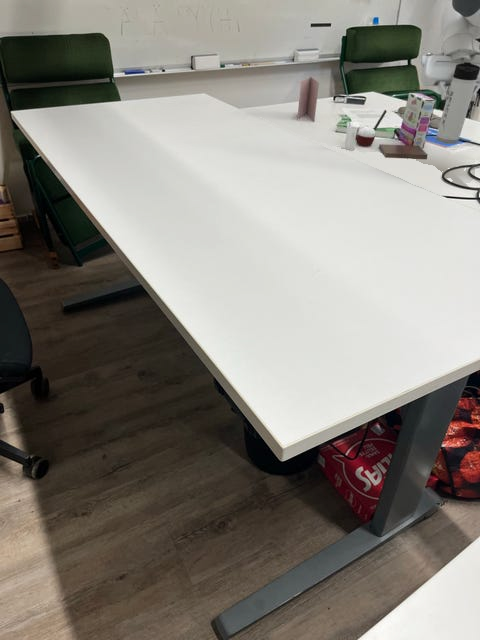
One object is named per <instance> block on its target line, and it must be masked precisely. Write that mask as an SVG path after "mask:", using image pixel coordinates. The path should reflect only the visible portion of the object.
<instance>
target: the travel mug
mask: <svg viewBox="0 0 480 640" xmlns="http://www.w3.org/2000/svg"><path fill="white" fill-rule="evenodd" d="M479 71H480V67H479V66H477V65H474V64H471V63H469V62H464V63H461V64H457V65H456V68H455V72H454V75H453V78H452V82H451V85H450V87H449V89H448V91H449V98H448V99H447V100H445V104H444V107H443V111H442V115H441V118H440V122H439V126H438V129H437V133H436V137H435V140H436V141H437V142H439V143H443V144H449V145H450V144H451V145H454V144H457V143H458V142H459V140H460V136H461V134H462V130H463V128H464V124H465V121H466V117H467V115H468V111H469V108H470V104H471V102H472V101H471V98H472V95H473V92H474V88H475V85H476V81H477V77H478V74H479Z"/></svg>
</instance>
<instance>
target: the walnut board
mask: <svg viewBox="0 0 480 640" xmlns="http://www.w3.org/2000/svg"><path fill="white" fill-rule="evenodd" d="M378 149H379V152H381V154H382V155H383V157H384V158H385V159H386V158H387V159H407V160H408V159H411V160H427V159H428V155H429V154H428V153H426V152H425V150H424V148H423V149H422V148H421V147H420V146H409V145H405V144H384V143H383V144H379V145H378Z"/></svg>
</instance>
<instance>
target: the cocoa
mask: <svg viewBox="0 0 480 640" xmlns="http://www.w3.org/2000/svg"><path fill="white" fill-rule="evenodd" d="M387 112H388V111H387V110H386V109H384V110H383V112H382V114H381V115H380V116H379V119H378V120H377V122H376V124H375V125H374V127H370V126H362V127H360V130H359V134H358V137H357V141H356V144H357V145H358V146H360V147H370V146H372V144H373V143H374V141H375V137H376V134H377V131H376V130H377V129H378V127H379V125H380V123H381V122H382V120H383V119H384V117H385V115H386V113H387Z"/></svg>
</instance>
